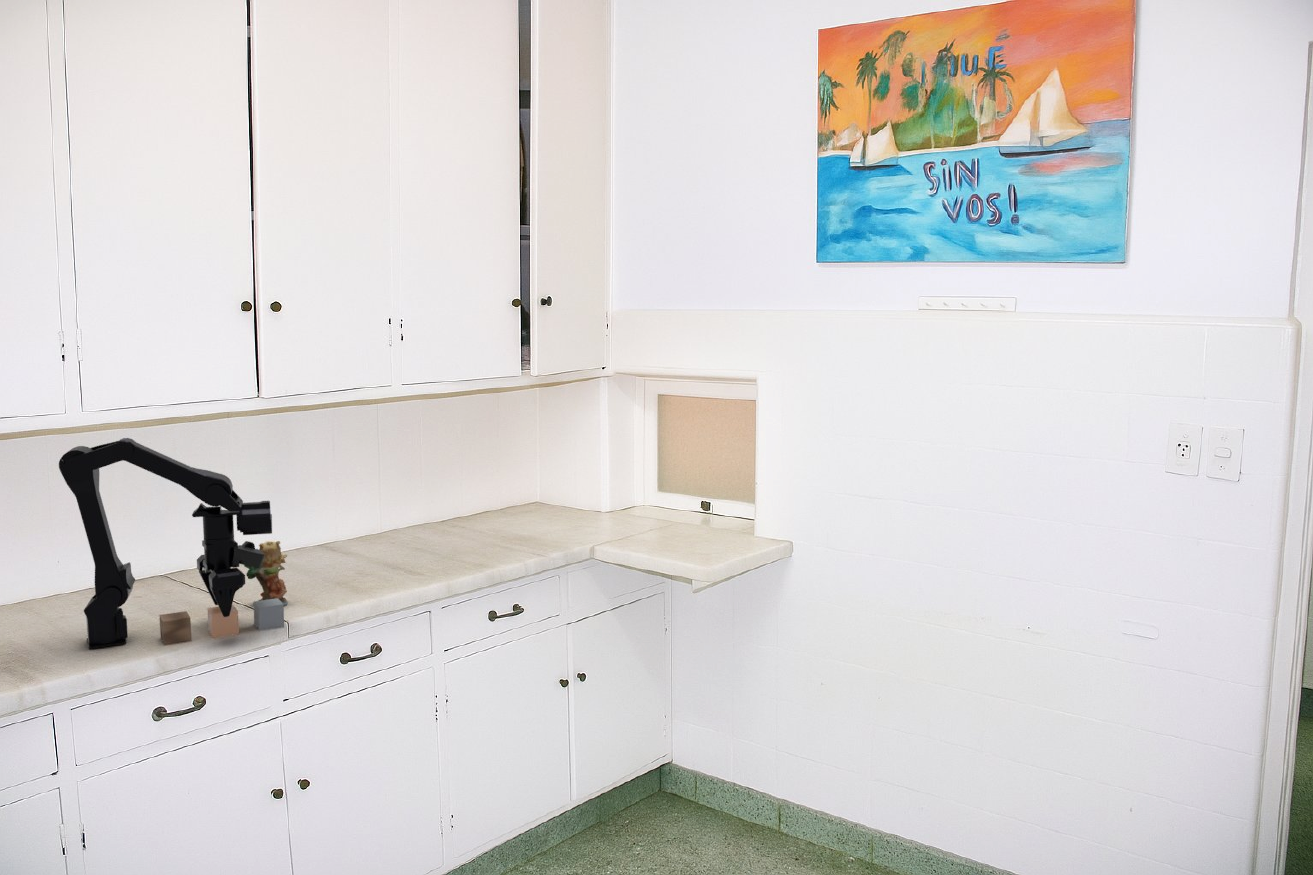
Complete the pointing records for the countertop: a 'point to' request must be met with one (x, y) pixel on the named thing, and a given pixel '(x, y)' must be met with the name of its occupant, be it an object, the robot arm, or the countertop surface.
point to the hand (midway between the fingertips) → (222, 610)
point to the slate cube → (268, 614)
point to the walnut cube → (175, 628)
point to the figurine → (270, 572)
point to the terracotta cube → (222, 622)
